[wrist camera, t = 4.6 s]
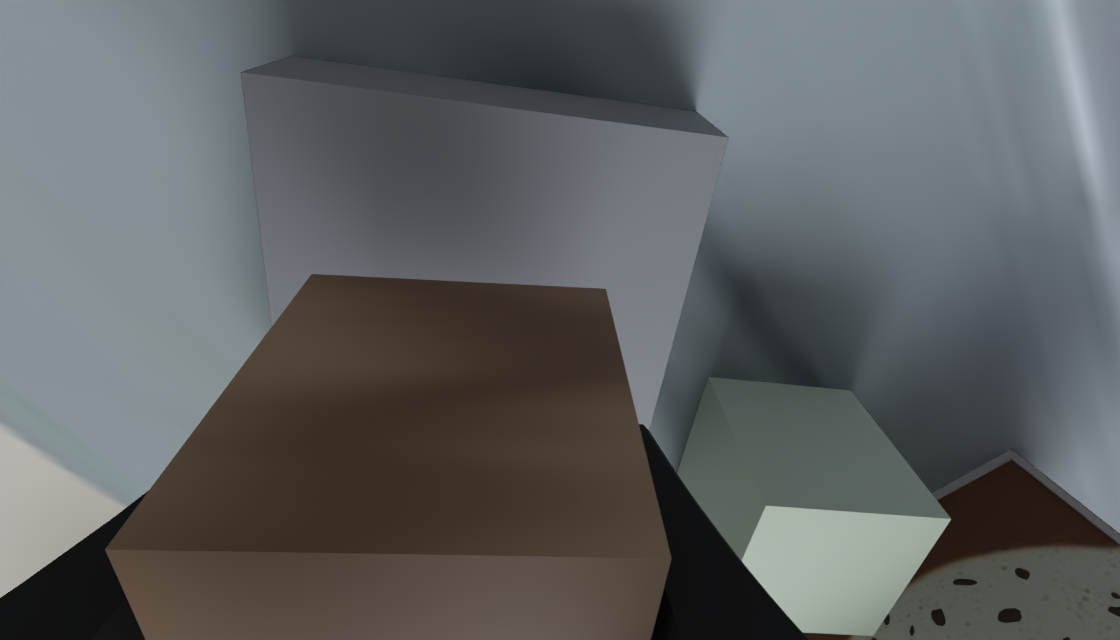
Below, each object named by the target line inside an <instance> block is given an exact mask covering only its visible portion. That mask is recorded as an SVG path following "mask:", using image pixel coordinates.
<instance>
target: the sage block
mask: <svg viewBox="0 0 1120 640" xmlns="http://www.w3.org/2000/svg"><path fill="white" fill-rule="evenodd" d="M677 474H678V476H679V477H680V479H681V480H682V482H683V483H684V484H685V486H686V487H687V489H688V490H689V492H690V493H691V495H692V496H693V497H694V499H695V500H696V502H697V503H698V504H699V506H700V507H701V509H702V510H703V511H704V513H705V514H706V515H707V517H708V518H709V519H710V521H711V522H712V523H713V525H714V526H715V527H716V529H717V530H718V531H719V532H720V534H721V535H722V536H723V538H724V539H725V540H726V542H727V543H728V544H729V546H730V547H731V548H732V550H733V551H734V552H735V553H736V555H737V556H738V557H739V558H740V560H741V561H742V562H743V563H744V565H745V566H746V567H747V568H748V570H749V571H750V572H751V573H752V574H753V576H754V577H755V578H756V579H757V580H758V582H759V583H760V584H761V585H762V586H763V588H764V589H765V590H766V591H767V592H768V594H769V595H770V596H771V597H772V598H773V600H774V601H775V602H776V603H777V604H778V605H779V607H780V608H781V609H782V610H783V611H784V612H785V613H786V615H787V616H788V617H789V618H790V619H791V620H792V621H793V622H794V624H795V625H796V626H797V627H798V628H799V629H800V630H801V631H802V632H803V633H823V634H843V635H864V636H873V635H874V634H875V633H876V631H877V630H878V628H879V627H880V625H881V624H882V622H883V621H884V619H885V618H886V616H887V615H888V613H889V612H890V610H891V609H892V607H893V606H894V604H895V603H896V601H897V600H898V598H899V597H900V595H901V594H902V592H903V591H904V589H905V588H906V586H907V585H908V583H909V582H910V580H911V579H912V577H913V576H914V574H915V573H916V571H917V570H918V568H919V567H920V565H921V564H922V562H923V561H924V559H925V558H926V556H927V555H928V553H929V552H930V550H931V549H932V547H933V546H934V544H935V543H936V541H937V540H938V538H939V537H940V535H941V534H942V532H943V531H944V529H945V528H946V526H947V525H948V523H949V522H950V520H951V518H950V517H949V515H948V514H947V513H946V512H945V510H944V509H943V508H942V506H941V505H940V504H939V503H938V501H937V500H936V499H935V497H934V496H933V495H932V494H931V492H930V491H929V490H928V488H927V487H926V486H925V485H924V483H923V482H922V481H921V480H920V478H919V477H918V476H917V474H916V473H915V472H914V471H913V469H912V468H911V467H910V465H909V464H908V463H907V462H906V460H905V459H904V458H903V456H902V455H901V454H900V453H899V451H898V450H897V449H896V447H895V446H894V445H893V444H892V442H891V441H890V440H889V438H888V437H887V436H886V435H885V433H884V432H883V431H882V430H881V428H880V427H879V426H878V424H877V423H876V422H875V421H874V419H873V418H872V417H871V415H870V414H869V413H868V412H867V410H866V409H865V408H864V406H863V405H862V404H861V403H860V401H859V400H858V399H857V397H856V396H855V395H854V394H853V392H852V391H851V390H841V389H830V388H820V387H810V386H799V385H789V384H779V383H768V382H758V381H747V380H737V379H727V378H716V377H708V379H707V382H706V385H705V388H704V392H703V395H702V398H701V401H700V404H699V407H698V410H697V413H696V416H695V419H694V422H693V425H692V428H691V431H690V435H689V438H688V441H687V444H686V447H685V450H684V453H683V456H682V459H681V462H680V465H679V468H678V471H677Z"/></svg>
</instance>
